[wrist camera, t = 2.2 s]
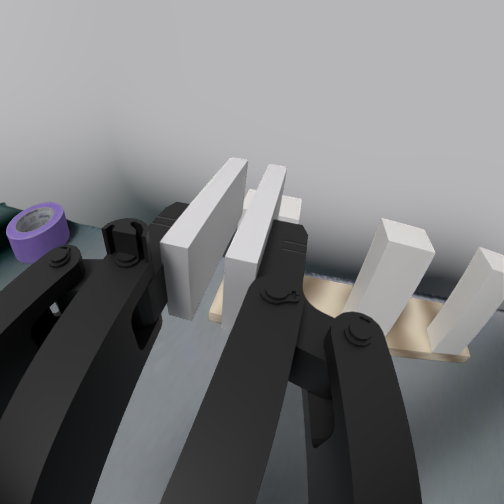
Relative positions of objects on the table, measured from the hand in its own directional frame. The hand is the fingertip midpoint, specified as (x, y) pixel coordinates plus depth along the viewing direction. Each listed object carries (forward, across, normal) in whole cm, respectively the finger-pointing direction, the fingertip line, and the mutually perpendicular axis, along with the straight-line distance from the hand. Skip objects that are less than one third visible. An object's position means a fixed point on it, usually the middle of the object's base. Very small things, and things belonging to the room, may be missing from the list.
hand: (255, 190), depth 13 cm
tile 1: (+11, +26, -20) cm, 35 cm away
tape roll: (+14, -39, -22) cm, 47 cm away
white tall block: (+11, +13, -20) cm, 27 cm away
